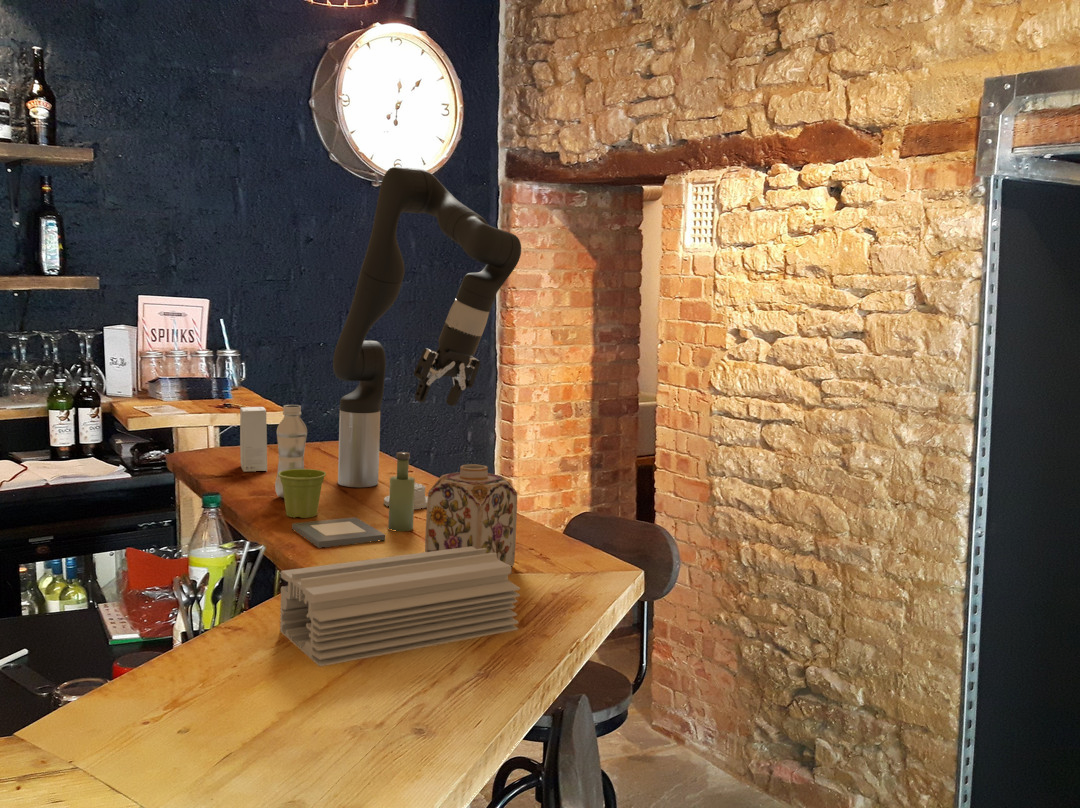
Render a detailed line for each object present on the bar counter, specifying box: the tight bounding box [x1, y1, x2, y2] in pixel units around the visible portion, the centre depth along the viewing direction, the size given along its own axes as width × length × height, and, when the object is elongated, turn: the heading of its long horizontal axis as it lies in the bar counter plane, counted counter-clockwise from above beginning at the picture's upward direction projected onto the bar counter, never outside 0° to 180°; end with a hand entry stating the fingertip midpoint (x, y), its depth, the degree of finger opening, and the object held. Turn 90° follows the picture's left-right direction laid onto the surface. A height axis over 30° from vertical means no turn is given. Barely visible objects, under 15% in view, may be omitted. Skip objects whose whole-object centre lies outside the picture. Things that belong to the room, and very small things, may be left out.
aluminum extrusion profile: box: [279, 546, 521, 667], centre depth 149 cm, size 14×31×10 cm, turn 124°
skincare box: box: [239, 406, 268, 473], centre depth 252 cm, size 8×6×15 cm
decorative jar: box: [424, 463, 518, 567], centre depth 180 cm, size 12×12×18 cm
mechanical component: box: [383, 482, 428, 510], centre depth 225 cm, size 10×4×10 cm
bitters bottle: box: [388, 451, 416, 532], centre depth 204 cm, size 5×5×15 cm
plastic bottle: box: [274, 404, 308, 499], centre depth 224 cm, size 6×7×20 cm
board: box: [291, 516, 386, 549], centre depth 198 cm, size 14×13×1 cm
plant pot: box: [278, 468, 327, 519], centre depth 211 cm, size 9×9×9 cm
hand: (434, 402), depth 205 cm, fingers open, 8 cm apart
